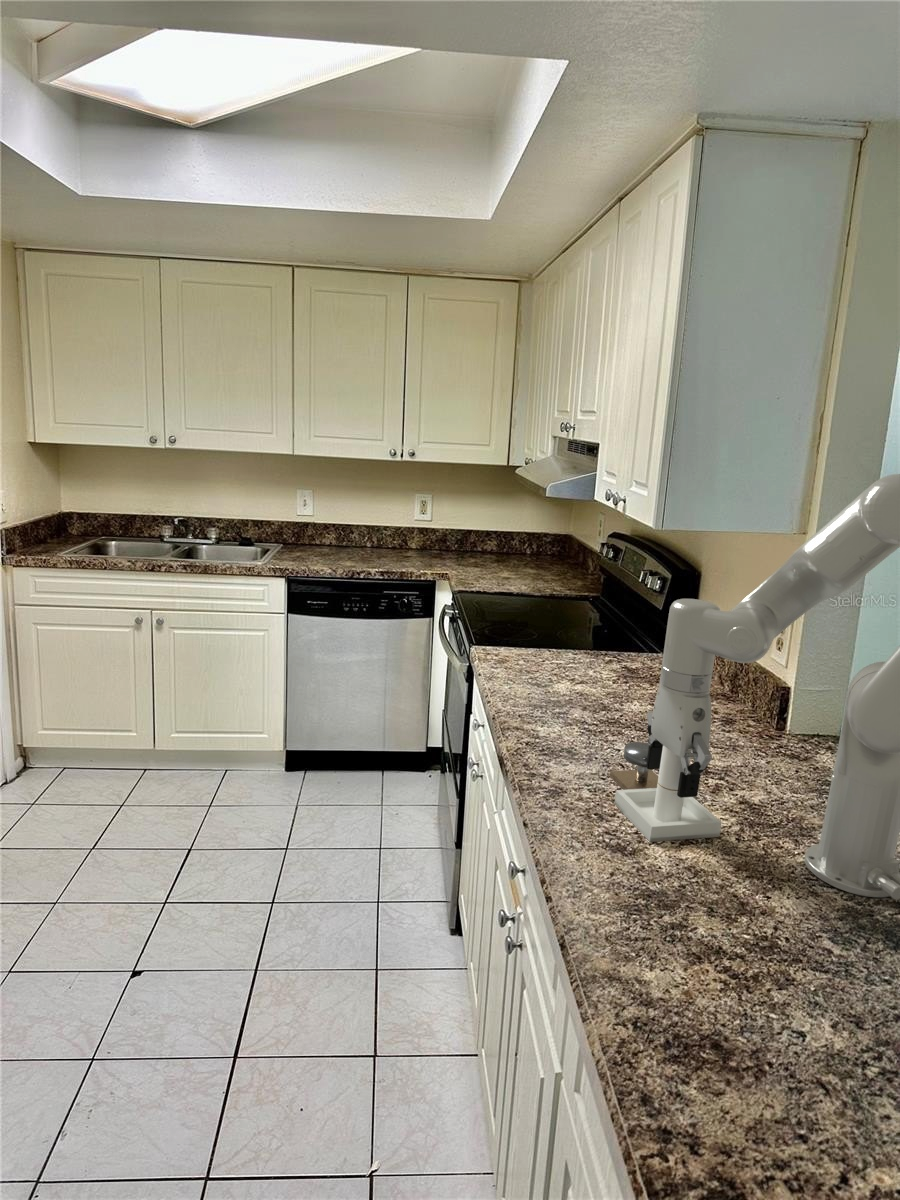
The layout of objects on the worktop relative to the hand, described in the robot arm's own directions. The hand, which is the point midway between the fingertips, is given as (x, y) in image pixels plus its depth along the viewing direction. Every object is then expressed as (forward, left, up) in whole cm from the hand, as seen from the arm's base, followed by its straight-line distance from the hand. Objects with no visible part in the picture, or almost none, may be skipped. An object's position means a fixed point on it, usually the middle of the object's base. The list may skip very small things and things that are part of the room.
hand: (670, 781), depth 123 cm
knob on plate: (+12, -2, -7) cm, 14 cm away
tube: (0, 0, -6) cm, 6 cm away
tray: (0, 0, -7) cm, 7 cm away
